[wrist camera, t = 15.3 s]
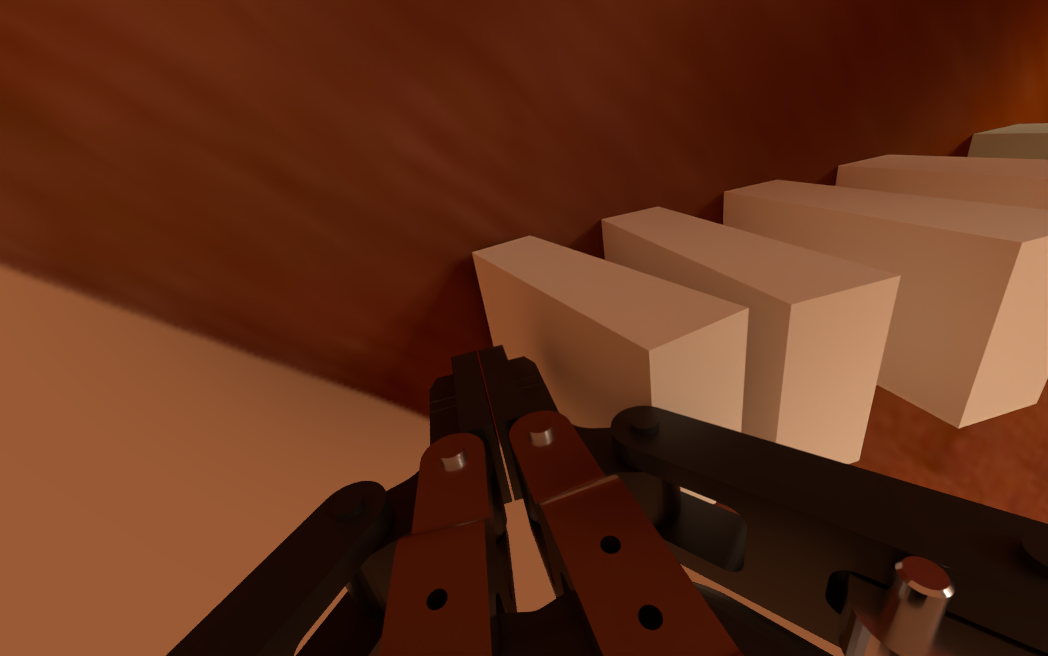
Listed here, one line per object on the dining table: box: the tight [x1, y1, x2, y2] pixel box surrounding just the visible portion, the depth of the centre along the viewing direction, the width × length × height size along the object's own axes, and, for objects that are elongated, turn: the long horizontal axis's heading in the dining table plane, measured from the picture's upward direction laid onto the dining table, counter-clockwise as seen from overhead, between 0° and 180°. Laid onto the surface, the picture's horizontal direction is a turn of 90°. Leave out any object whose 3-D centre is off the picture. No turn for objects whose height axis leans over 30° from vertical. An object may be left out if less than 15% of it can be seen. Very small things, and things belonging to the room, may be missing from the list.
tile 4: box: [836, 155, 1048, 210], centre depth 15 cm, size 2×5×10 cm, turn 10°
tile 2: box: [601, 207, 901, 464], centre depth 14 cm, size 2×5×10 cm, turn 11°
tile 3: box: [723, 180, 1048, 428], centre depth 15 cm, size 2×5×10 cm, turn 11°
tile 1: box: [472, 235, 749, 504], centre depth 13 cm, size 2×5×10 cm, turn 11°
